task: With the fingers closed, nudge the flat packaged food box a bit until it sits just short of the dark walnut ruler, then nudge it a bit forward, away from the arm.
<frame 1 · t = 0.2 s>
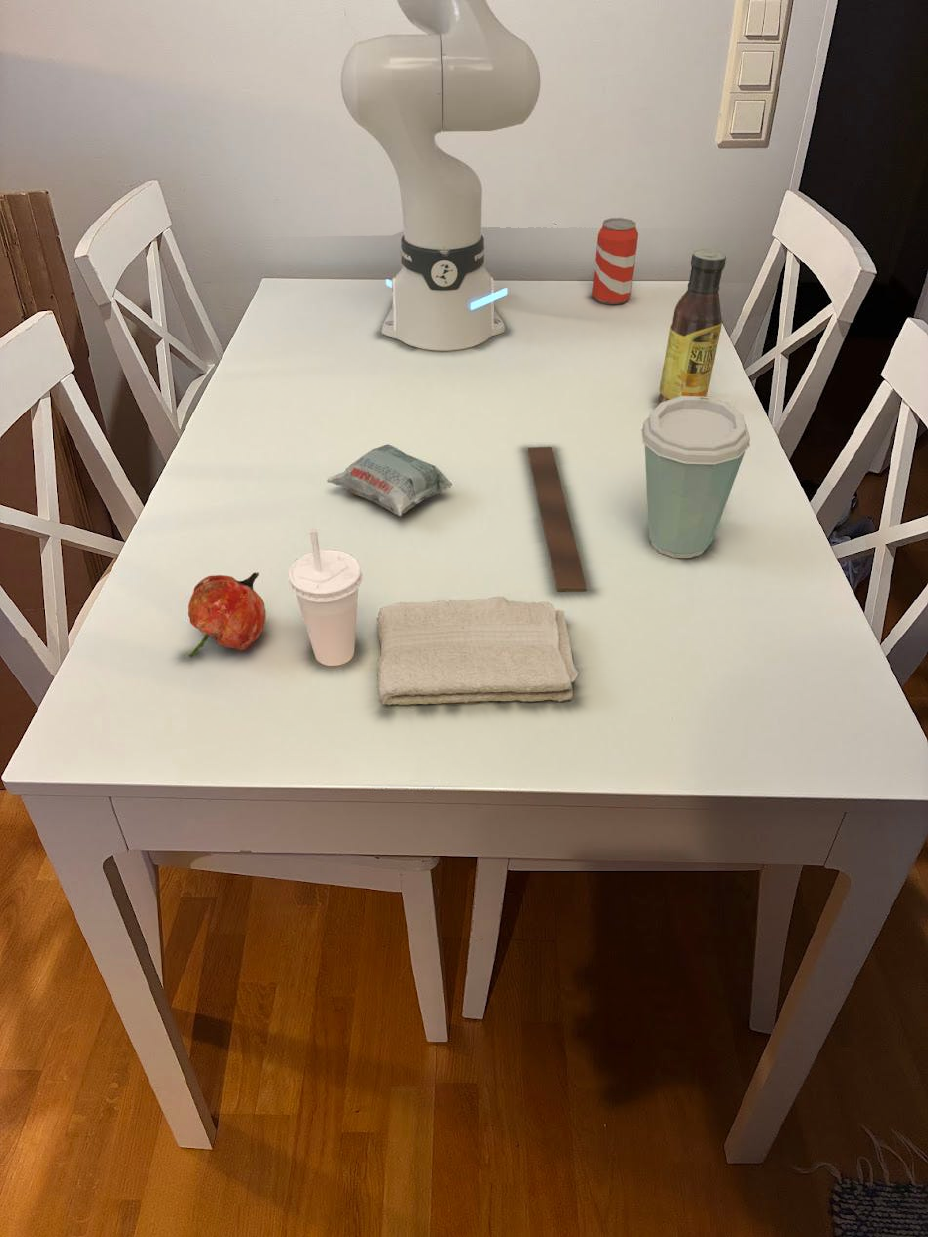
disposable coffee cup: (675, 543, 101), on the table
packaged food: (389, 500, 107), on the table
pomegranate: (230, 643, 88), on the table
ruler: (553, 513, 105), on the table
sauce bottle: (681, 406, 125), on the table
smoothie: (334, 654, 87), on the table
beverage can: (610, 300, 153), on the table
washcloth: (474, 664, 86), on the table
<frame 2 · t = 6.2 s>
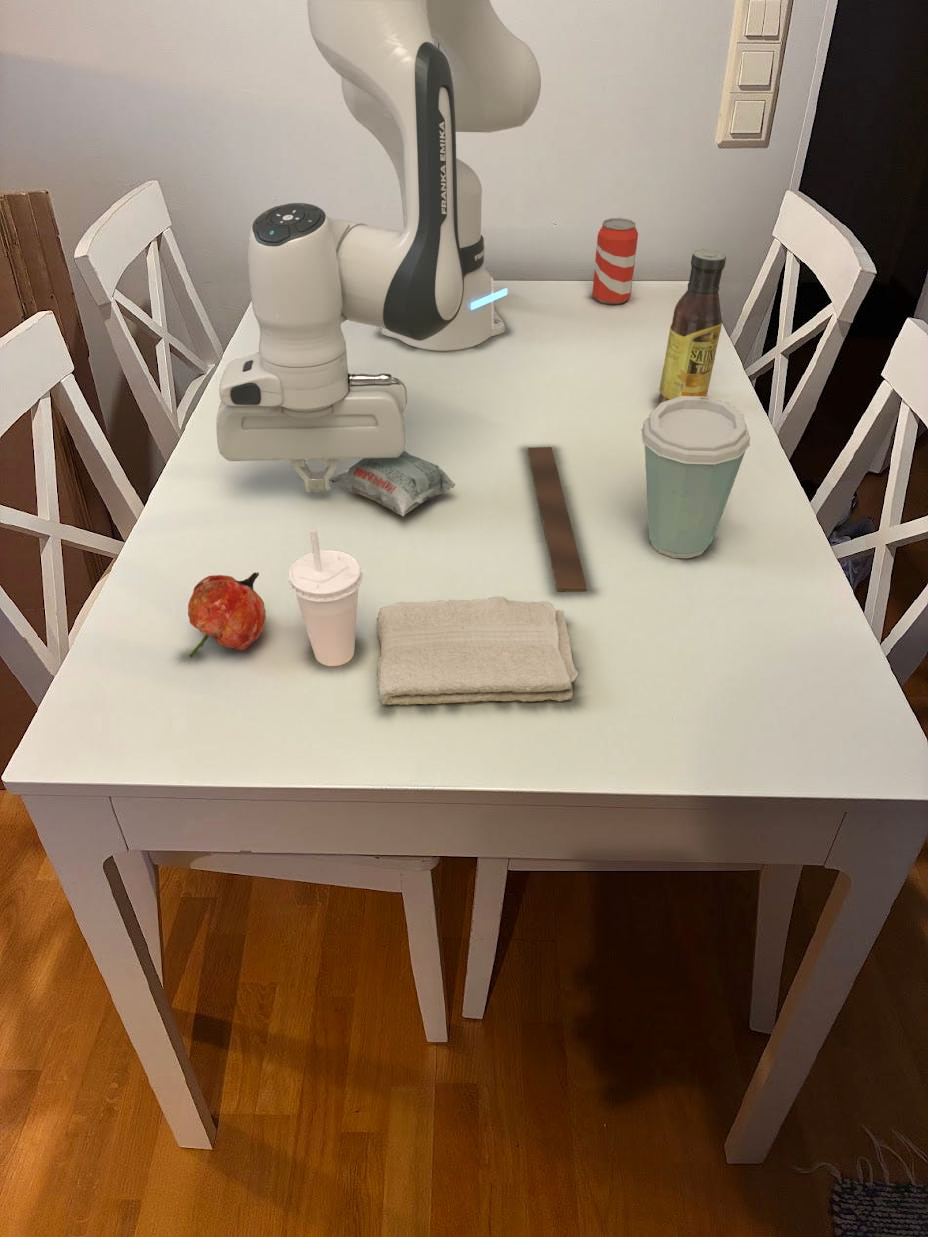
hand: (318, 488, 106), 2 cm above the table, tool pointing down, fingers closed
packaged food: (392, 500, 107), on the table, touching gripper
everything else where it was.
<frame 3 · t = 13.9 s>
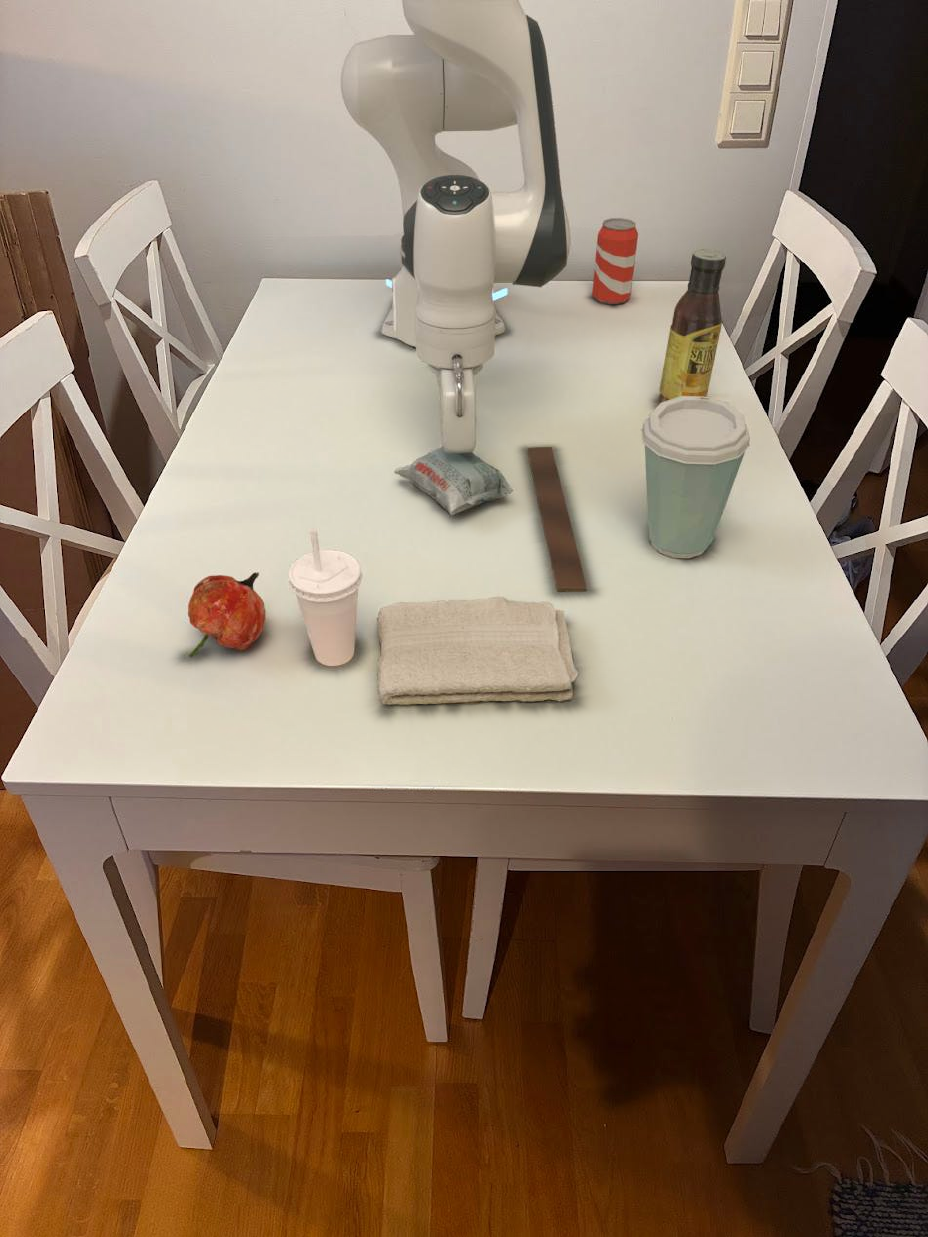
hand: (455, 447, 113), 2 cm above the table, tool pointing down, fingers closed
packaged food: (451, 498, 108), on the table, touching gripper
everything else where it was.
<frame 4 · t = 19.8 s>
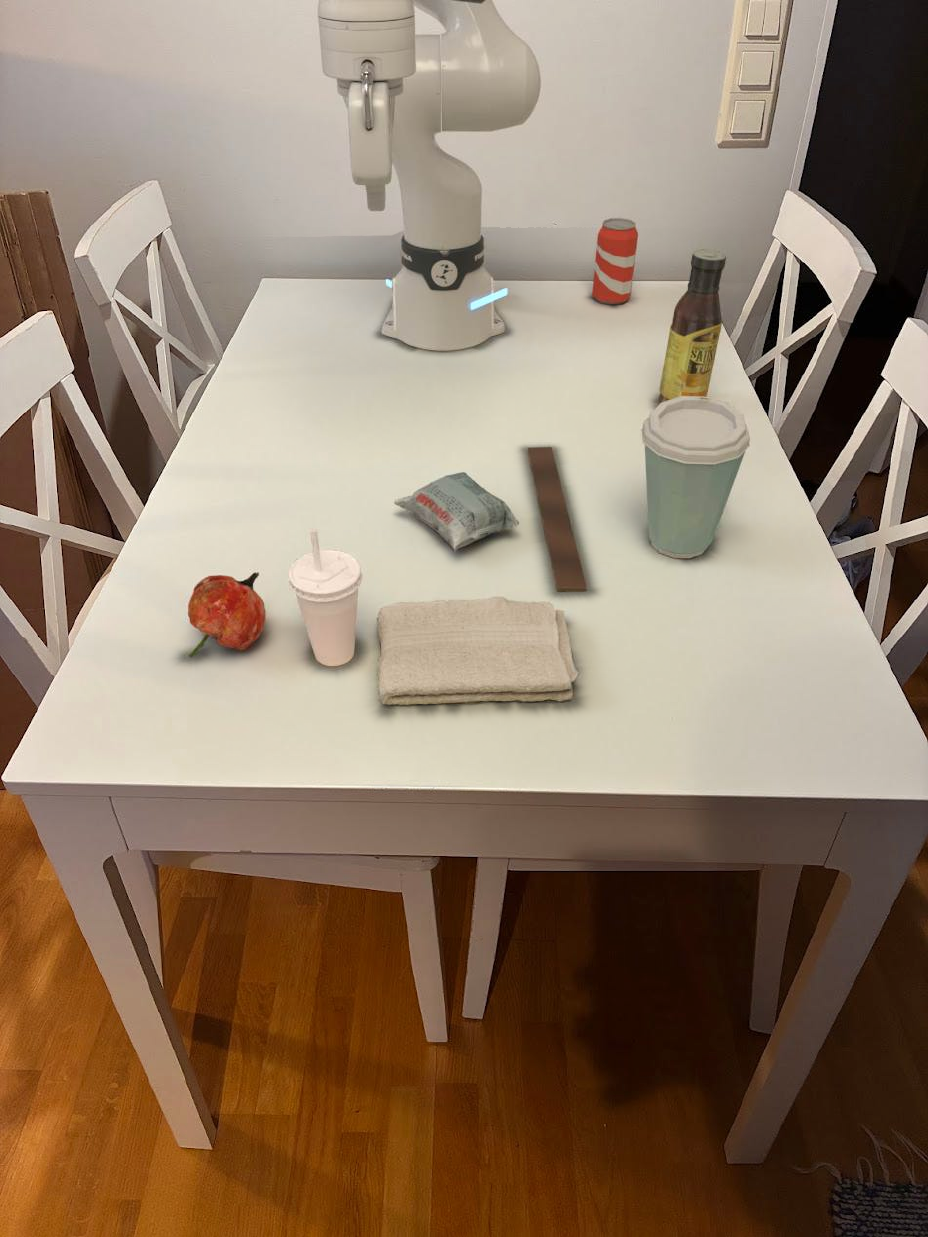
hand: (376, 206, 96), 29 cm above the table, tool pointing down, fingers closed
packaged food: (454, 530, 103), on the table
everything else where it was.
at the end: packaged food inside the target area (1.3 cm from its centre), on the table; packaged food tilted 0° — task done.
